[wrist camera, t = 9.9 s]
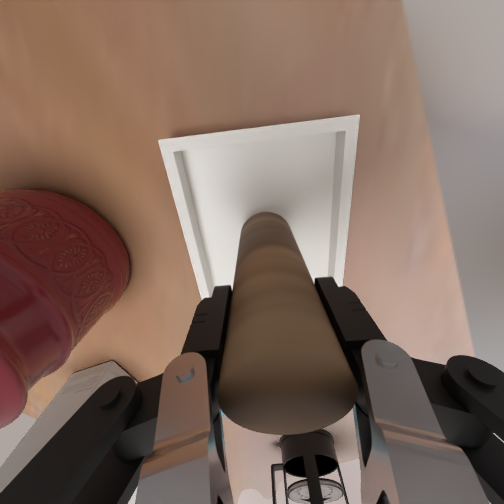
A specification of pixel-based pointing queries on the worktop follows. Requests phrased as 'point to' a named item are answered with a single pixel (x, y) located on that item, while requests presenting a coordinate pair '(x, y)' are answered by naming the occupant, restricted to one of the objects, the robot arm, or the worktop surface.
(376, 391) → the robot arm
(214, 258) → the white tray
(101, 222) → the canister
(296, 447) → the french press
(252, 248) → the walnut peg
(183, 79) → the worktop surface
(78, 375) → the supplement box
